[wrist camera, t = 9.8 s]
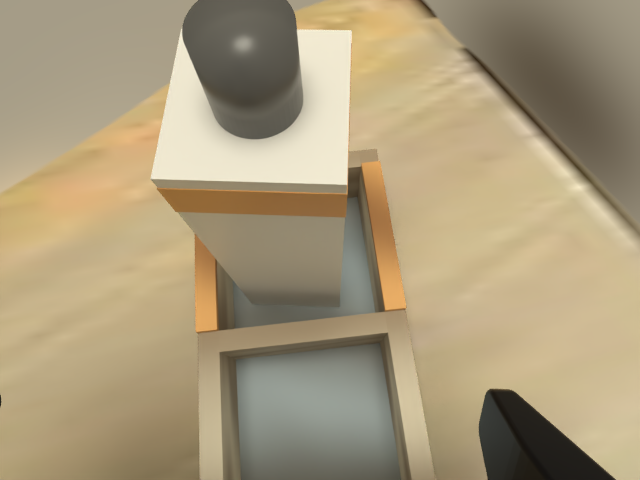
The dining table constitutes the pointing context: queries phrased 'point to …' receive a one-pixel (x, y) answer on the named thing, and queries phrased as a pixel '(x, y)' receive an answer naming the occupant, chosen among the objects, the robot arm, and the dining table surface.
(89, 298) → the dining table surface
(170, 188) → the bottle
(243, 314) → the rack
